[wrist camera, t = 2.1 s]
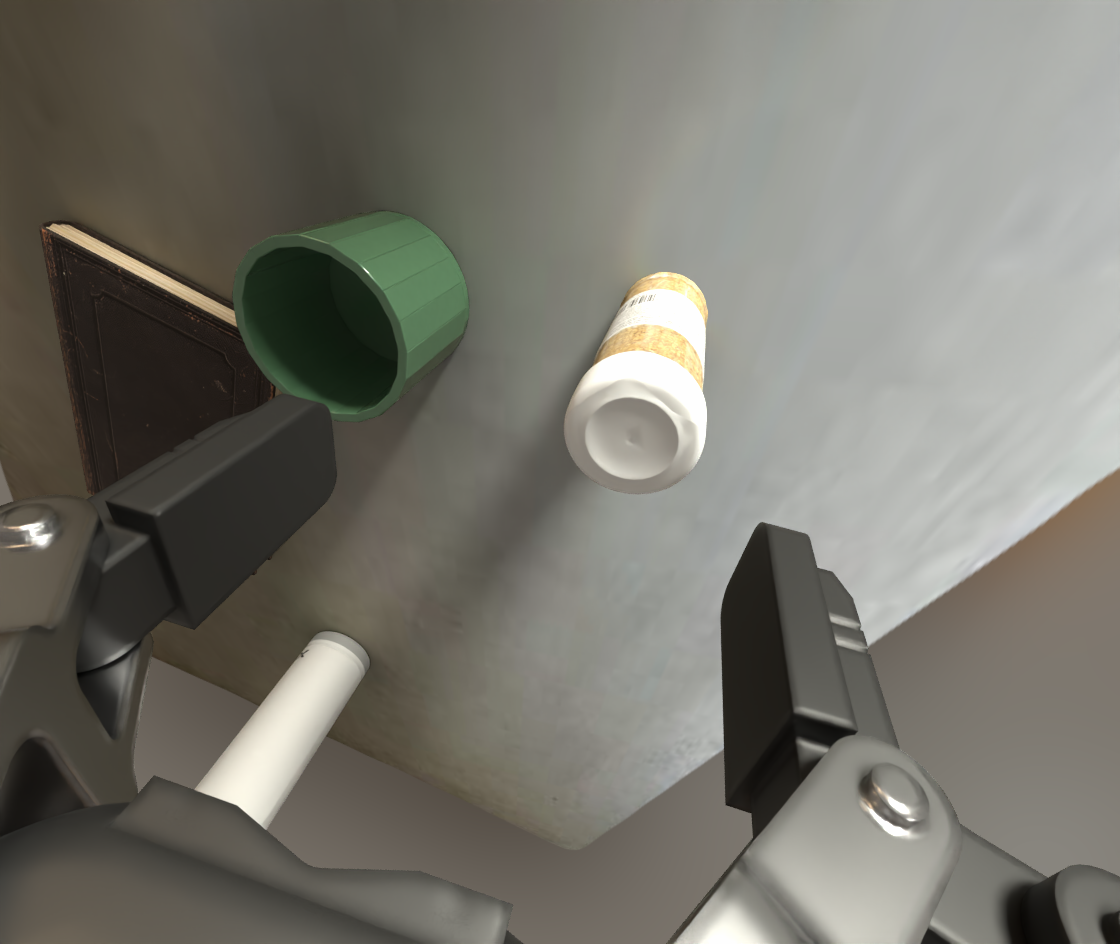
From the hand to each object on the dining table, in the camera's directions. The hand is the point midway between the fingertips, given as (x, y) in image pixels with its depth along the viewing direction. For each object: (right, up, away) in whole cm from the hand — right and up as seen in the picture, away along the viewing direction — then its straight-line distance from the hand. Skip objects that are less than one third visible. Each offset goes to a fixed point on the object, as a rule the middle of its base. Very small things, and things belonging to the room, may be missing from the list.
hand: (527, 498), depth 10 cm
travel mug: (-21, -17, +43) cm, 51 cm away
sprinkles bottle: (+6, +9, +18) cm, 21 cm away
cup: (-9, +11, +21) cm, 25 cm away
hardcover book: (-28, +5, +31) cm, 41 cm away
